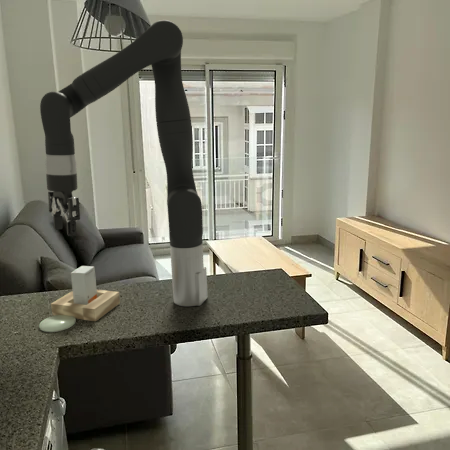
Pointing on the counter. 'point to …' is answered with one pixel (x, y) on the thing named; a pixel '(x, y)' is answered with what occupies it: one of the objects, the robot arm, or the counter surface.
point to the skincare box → (84, 285)
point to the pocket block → (86, 306)
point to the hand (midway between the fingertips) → (65, 232)
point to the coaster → (57, 323)
